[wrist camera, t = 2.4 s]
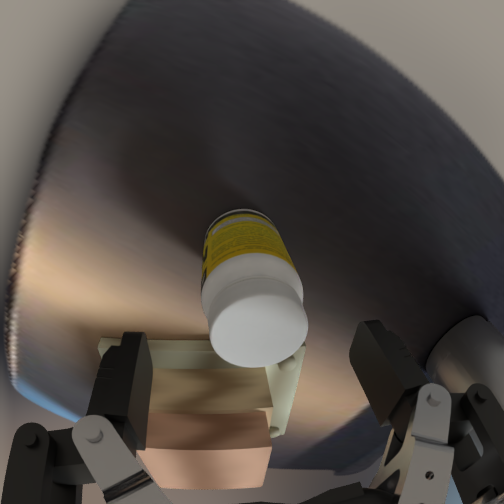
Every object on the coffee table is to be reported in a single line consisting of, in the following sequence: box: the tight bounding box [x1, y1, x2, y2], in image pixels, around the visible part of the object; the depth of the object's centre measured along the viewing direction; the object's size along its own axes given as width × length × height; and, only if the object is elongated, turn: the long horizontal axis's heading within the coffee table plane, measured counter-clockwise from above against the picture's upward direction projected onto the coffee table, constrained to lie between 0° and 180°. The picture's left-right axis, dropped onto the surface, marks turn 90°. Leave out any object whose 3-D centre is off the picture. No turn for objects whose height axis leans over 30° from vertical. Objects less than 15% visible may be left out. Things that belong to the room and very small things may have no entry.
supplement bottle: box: [201, 209, 308, 368], centre depth 15 cm, size 5×5×8 cm
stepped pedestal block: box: [97, 337, 306, 489], centre depth 22 cm, size 16×14×8 cm
